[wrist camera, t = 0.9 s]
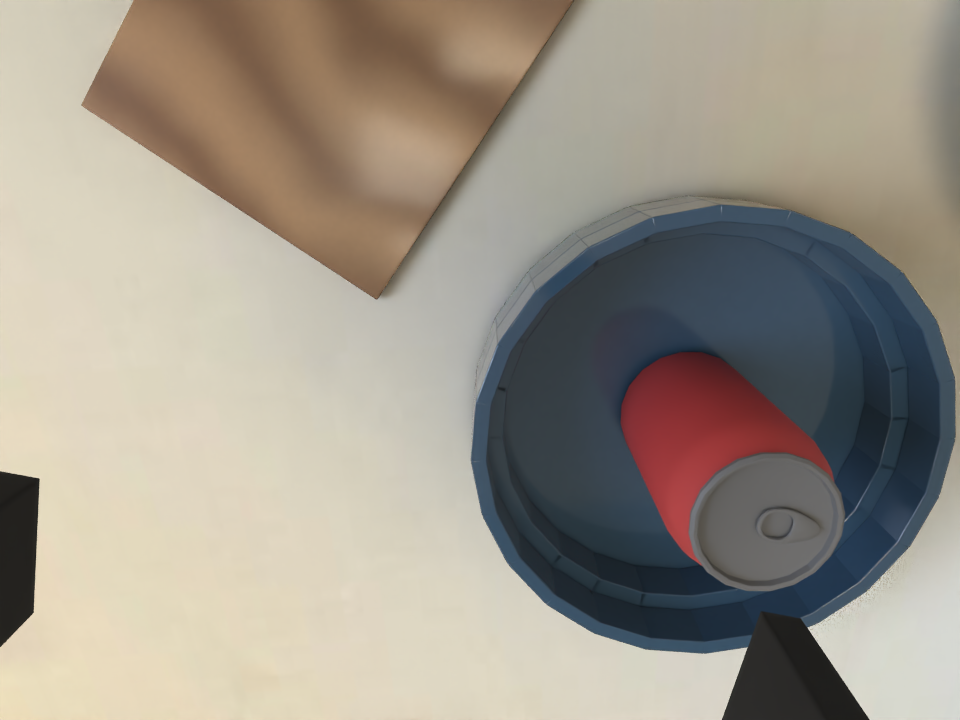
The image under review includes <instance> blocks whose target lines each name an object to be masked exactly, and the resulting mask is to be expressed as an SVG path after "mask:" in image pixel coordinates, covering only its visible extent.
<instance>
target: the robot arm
mask: <svg viewBox="0 0 960 720" xmlns="http://www.w3.org/2000/svg"><path fill="white" fill-rule="evenodd" d="M38 500H39V478H33V477H28V476H22V475H17V474H11V473H6V472H1V471H0V647H1V646H2V645H3V644H4V643H5V642H6V641H7V640H8V639H9V638H10V637H11V636H12V635H13V633H14V632H15V631H16V630H17V629H18V628H19V627H20V626H21V625H22V624H23V623H24V622H25V621H26V620H27V619H28V618H29V617H30V616H31V615H32V614H33V613H34V590H35V568H36V545H37V523H38ZM722 720H869V718H868V717H867V715H866V714H865V712H864V711H863V709H862V708H861V707H860V705H859V704H858V702H857V701H856V699H855V698H854V696H853V695H852V693H851V692H850V690H849V689H848V687H847V686H846V684H845V683H844V681H843V680H842V678H841V677H840V676H839V674H838V673H837V671H836V670H835V668H834V667H833V665H832V664H831V662H830V661H829V659H828V658H827V656H826V655H825V653H824V652H823V650H822V649H821V647H820V646H819V645H818V643H817V642H816V640H815V639H814V637H813V636H812V634H811V633H810V631H809V630H808V628H807V627H806V625H805V624H804V622H803V621H802V619H801V618H796V617H791V616H785V615H780V614H774V613H769V612H764V611H761V612H760V615H759V618H758V620H757V623H756V626H755V629H754V632H753V634H752V637H751V640H750V643H749V646H748V648H747V651H746V654H745V657H744V660H743V662H742V665H741V668H740V671H739V674H738V676H737V679H736V682H735V685H734V688H733V690H732V693H731V696H730V699H729V702H728V704H727V707H726V710H725V713H724V716H723V718H722Z"/></svg>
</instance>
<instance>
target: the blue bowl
mask: <svg viewBox="0 0 960 720" xmlns="http://www.w3.org/2000/svg"><path fill="white" fill-rule="evenodd" d="M679 352H702V353H705V354H708V355H711V356H714V357H717V358H721V359H722V360H723V361H725V362H726V363H727V364H729V365H730V366H731V367H733V368H734V369H735V370H736V371H738V372H739V373H740V374H741V375H742V376H743V377H744V378H745V379H746V380H747V381H749V382H750V383H751V384H752V385H753V386H754V387H755V388H756V389H757V390H758V391H760V392H761V393H762V394H763V395H764V396H765V397H766V398H767V399H768V400H769V401H771V402H772V403H773V404H774V405H775V406H776V407H777V408H778V409H779V410H781V411H782V412H783V413H784V414H785V415H786V416H787V417H788V418H789V419H790V420H792V421H793V422H794V423H795V424H796V425H797V426H798V427H799V428H800V429H801V430H803V431H804V432H805V433H806V434H807V435H808V436H809V437H810V438H811V439H812V440H814V441H815V443H816V445H817V446H818V448H819V449H820V451H821V452H822V454H823V455H824V457H825V459H826V460H827V462H828V464H829V466H830V468H831V470H832V473H833V478H834V483H835V484H836V486H837V488H838V489H839V491H840V492H841V496H842V501H843V505H844V510H845V519H844V525H843V531H842V536H841V538H840V540H839V542H838V544H837V546H836V548H835V550H834V552H833V553H832V555H831V557H830V558H829V559H828V560H827V561H826V562H825V563H824V564H823V565H822V566H821V567H820V568H819V569H818V570H817V571H816V572H815V573H813V574H812V575H810V576H808V577H807V578H805V579H803V580H801V581H800V582H798V583H796V584H794V585H791V586H788V587H784V588H780V589H776V590H773V591H745V590H742V589H738V588H735V587H732V586H728V585H725V584H723V583H722V582H721V581H719V580H718V579H716V578H715V577H713V576H712V575H710V574H709V573H707V571H706V570H705V569H704V567H703V566H702V565H700V564H699V563H697V562H696V561H694V560H693V559H691V558H690V557H689V556H688V555H687V554H686V553H684V552H683V551H682V550H681V548H680V547H679V546H678V544H677V543H676V541H675V540H674V539H673V537H672V536H671V535H670V533H669V532H668V530H667V528H666V526H665V524H664V522H663V520H662V518H661V515H660V513H659V511H658V509H657V507H656V505H655V503H654V501H653V498H652V496H651V494H650V492H649V490H648V488H647V486H646V484H645V481H644V479H643V477H642V475H641V473H640V471H639V469H638V467H637V464H636V462H635V460H634V458H633V456H632V454H631V452H630V450H629V447H628V445H627V443H626V441H625V437H624V434H623V430H622V427H621V406H622V402H623V400H624V397H625V395H626V392H627V390H628V387H629V385H630V384H631V383H632V382H633V381H634V379H635V378H636V377H637V376H638V375H639V373H640V372H641V371H642V370H643V369H644V368H646V367H648V366H649V365H651V364H652V363H654V362H655V361H657V360H658V359H660V358H663V357H666V356H669V355H673V354H676V353H679ZM954 442H955V377H954V374H953V371H952V367H951V364H950V361H949V358H948V355H947V351H946V348H945V345H944V342H943V339H942V335H941V332H940V329H939V326H938V323H937V320H936V319H935V318H934V316H933V315H932V313H931V312H930V310H929V309H928V308H927V306H926V305H925V303H924V302H923V300H922V299H921V298H920V296H919V295H918V293H917V292H916V290H915V289H914V288H913V286H912V285H911V283H910V282H909V280H908V279H907V278H906V276H905V275H904V273H903V272H901V270H899V269H898V268H897V267H896V266H894V265H893V264H892V263H890V262H889V261H888V260H886V259H885V258H884V257H882V256H881V255H880V254H878V253H877V252H876V251H875V250H873V249H872V248H871V247H869V246H868V245H867V244H865V243H864V242H863V241H861V240H860V239H859V238H858V237H856V236H855V235H854V234H851V233H850V232H848V231H845V230H843V229H840V228H837V227H835V226H832V225H829V224H827V223H824V222H821V221H819V220H816V219H813V218H811V217H808V216H805V215H802V214H800V213H797V212H794V211H792V210H788V209H783V208H779V207H775V206H770V205H766V204H761V203H757V202H752V201H747V200H739V199H726V198H714V197H701V196H682V197H677V198H671V199H666V200H661V201H655V202H650V203H644V204H639V205H634V206H629V207H626V208H624V209H622V210H620V211H618V212H616V213H614V214H612V215H610V216H607V217H605V218H603V219H601V220H599V221H597V222H595V223H593V224H590V225H588V226H586V227H584V228H582V229H580V230H578V231H576V232H575V233H573V234H571V235H570V236H569V237H568V238H567V239H565V240H564V241H563V242H562V243H561V244H559V245H558V246H557V247H556V248H555V249H553V250H552V251H551V252H550V253H549V254H547V255H546V256H545V257H544V258H543V259H541V260H540V261H539V262H538V263H537V264H535V265H534V266H533V267H532V268H531V269H530V270H529V271H528V272H527V273H526V275H525V276H524V278H523V279H522V280H521V282H520V283H519V285H518V286H517V287H516V289H515V290H514V292H513V293H512V295H511V296H510V297H509V299H508V300H507V302H506V303H505V304H504V306H503V307H502V309H501V310H500V311H499V313H498V314H497V316H496V318H495V320H494V322H493V325H492V328H491V331H490V333H489V336H488V339H487V341H486V344H485V347H484V350H483V352H482V355H481V358H480V360H479V363H478V366H477V370H476V383H475V395H474V408H473V422H472V445H471V464H472V469H473V474H474V479H475V484H476V488H477V493H478V498H479V503H480V508H481V513H482V515H483V518H484V520H485V522H486V524H487V526H488V528H489V530H490V531H491V533H492V535H493V537H494V539H495V541H496V543H497V545H498V547H499V548H500V550H501V552H502V554H503V556H504V558H505V560H506V562H507V563H508V564H509V566H510V567H511V568H512V569H513V570H514V571H515V572H516V573H517V574H518V575H519V576H520V577H521V579H522V580H523V581H524V582H525V583H526V584H527V585H528V586H529V587H530V588H531V589H532V590H533V591H534V592H535V593H536V594H537V595H538V596H539V597H540V598H541V599H542V600H543V602H544V603H546V604H547V605H548V606H550V607H551V608H553V609H554V610H556V611H558V612H559V613H561V614H563V615H564V616H566V617H568V618H569V619H571V620H573V621H574V622H576V623H577V624H579V625H581V626H582V627H584V628H586V629H587V630H589V631H591V632H593V633H594V634H598V635H601V636H604V637H607V638H610V639H614V640H617V641H620V642H623V643H627V644H630V645H633V646H636V647H639V648H643V649H648V650H660V651H674V652H688V653H702V654H703V653H704V654H706V653H713V652H719V651H726V650H732V649H739V648H746V647H748V646H749V643H750V640H751V637H752V634H753V632H754V629H755V626H756V623H757V620H758V618H759V615H760V612H761V611H764V612H769V613H774V614H780V615H785V616H791V617H796V618H801V619H802V621H803V622H804V624H805V625H806V627H810V626H813V625H815V624H817V623H819V622H821V621H822V620H824V619H825V618H827V617H828V616H830V615H832V614H833V613H835V612H836V611H838V610H839V609H841V608H842V607H844V606H845V605H847V604H848V603H850V602H851V601H853V600H854V599H856V598H857V597H859V596H860V595H862V594H864V593H865V592H867V590H868V589H870V588H871V586H872V585H873V584H874V583H875V582H876V581H877V580H878V579H879V578H880V577H881V576H882V575H883V574H884V573H885V572H886V571H887V570H888V569H889V568H890V567H891V566H892V565H893V564H894V563H895V562H896V561H897V559H898V558H899V557H900V556H901V555H902V554H903V553H904V552H905V551H906V550H907V549H908V547H910V546H911V544H912V542H913V540H914V539H915V537H916V535H917V534H918V532H919V530H920V528H921V527H922V525H923V523H924V522H925V520H926V518H927V516H928V515H929V513H930V511H931V510H932V508H933V506H934V505H935V503H936V501H937V499H938V498H939V495H940V492H941V488H942V485H943V481H944V478H945V474H946V471H947V467H948V463H949V460H950V456H951V453H952V449H953V446H954Z"/></svg>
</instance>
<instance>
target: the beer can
mask: <svg viewBox="0 0 960 720" xmlns="http://www.w3.org/2000/svg"><path fill="white" fill-rule="evenodd" d="M621 427H622V430H623V434H624V437H625V441H626V443H627V445H628V447H629V450H630V452H631V454H632V456H633V458H634V460H635V462H636V464H637V467H638V469H639V471H640V473H641V475H642V477H643V479H644V481H645V484H646V486H647V488H648V490H649V492H650V494H651V496H652V498H653V501H654V503H655V505H656V507H657V509H658V511H659V513H660V515H661V518H662V520H663V522H664V524H665V526H666V528H667V530H668V532H669V533H670V535H671V536H672V537H673V539H674V540H675V541H676V543H677V544H678V546H679V547H680V548H681V550H682V551H683V552H684V553H686V554H687V555H688V556H689V557H690V558H691V559H693V560H694V561H696V562H697V563H699V564H700V565H702V566H703V567H704V569H705V570H706V571H707V573H709V574H710V575H712V576H713V577H715V578H716V579H718V580H719V581H721V582H722V583H723V584H725V585H728V586H732V587H735V588H738V589H742V590H745V591H773V590H776V589H780V588H784V587H788V586H791V585H794V584H796V583H798V582H800V581H801V580H803V579H805V578H807V577H808V576H810V575H812V574H813V573H815V572H816V571H817V570H818V569H819V568H820V567H821V566H822V565H823V564H824V563H825V562H826V561H827V560H828V559H829V558H830V557H831V555H832V553H833V552H834V550H835V548H836V546H837V544H838V542H839V540H840V538H841V536H842V531H843V525H844V519H845V510H844V505H843V501H842V496H841V492H840V491H839V489H838V488H837V486H836V484H835V483H834V478H833V473H832V470H831V468H830V466H829V464H828V462H827V460H826V459H825V457H824V455H823V454H822V452H821V451H820V449H819V448H818V446H817V445H816V443H815V441H814V440H812V439H811V438H810V437H809V436H808V435H807V434H806V433H805V432H804V431H803V430H801V429H800V428H799V427H798V426H797V425H796V424H795V423H794V422H793V421H792V420H790V419H789V418H788V417H787V416H786V415H785V414H784V413H783V412H782V411H781V410H779V409H778V408H777V407H776V406H775V405H774V404H773V403H772V402H771V401H769V400H768V399H767V398H766V397H765V396H764V395H763V394H762V393H761V392H760V391H758V390H757V389H756V388H755V387H754V386H753V385H752V384H751V383H750V382H749V381H747V380H746V379H745V378H744V377H743V376H742V375H741V374H740V373H739V372H738V371H736V370H735V369H734V368H733V367H731V366H730V365H729V364H727V363H726V362H725V361H723V360H722V359H721V358H717V357H714V356H711V355H708V354H705V353H702V352H679V353H676V354H673V355H669V356H666V357H663V358H660V359H658V360H657V361H655V362H654V363H652V364H651V365H649V366H648V367H646V368H644V369H643V370H642V371H641V372H640V373H639V375H638V376H637V377H636V378H635V379H634V381H633V382H632V383H631V384H630V385H629V387H628V390H627V392H626V395H625V397H624V400H623V402H622V406H621Z"/></svg>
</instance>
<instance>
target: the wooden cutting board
mask: <svg viewBox="0 0 960 720" xmlns="http://www.w3.org/2000/svg"><path fill="white" fill-rule="evenodd" d="M573 1H574V0H134V1H133V3H132V5H131V7H130V9H129V11H128V13H127V15H126V17H125V19H124V21H123V23H122V25H121V27H120V29H119V31H118V33H117V35H116V37H115V39H114V41H113V43H112V45H111V47H110V49H109V51H108V53H107V55H106V57H105V59H104V61H103V63H102V65H101V67H100V69H99V71H98V73H97V75H96V77H95V79H94V81H93V83H92V85H91V87H90V89H89V91H88V93H87V95H86V97H85V99H84V101H83V103H82V106H83V107H84V108H86V109H87V110H89V111H90V112H92V113H94V114H95V115H97V116H98V117H100V118H101V119H103V120H104V121H106V122H107V123H109V124H110V125H112V126H113V127H115V128H116V129H118V130H119V131H121V132H122V133H124V134H125V135H127V136H128V137H130V138H132V139H133V140H135V141H136V142H138V143H139V144H141V145H142V146H144V147H145V148H147V149H148V150H150V151H151V152H153V153H154V154H156V155H157V156H159V157H160V158H162V159H163V160H165V161H166V162H168V163H170V164H171V165H173V166H174V167H176V168H177V169H179V170H180V171H182V172H183V173H185V174H186V175H188V176H189V177H191V178H192V179H194V180H195V181H197V182H198V183H200V184H201V185H203V186H205V187H206V188H208V189H209V190H211V191H212V192H214V193H215V194H217V195H218V196H220V197H221V198H223V199H224V200H226V201H227V202H229V203H230V204H232V205H233V206H235V207H236V208H238V209H239V210H241V211H243V212H244V213H246V214H247V215H249V216H250V217H252V218H253V219H255V220H256V221H258V222H259V223H261V224H262V225H264V226H265V227H267V228H268V229H270V230H271V231H273V232H274V233H276V234H278V235H279V236H281V237H282V238H284V239H285V240H287V241H288V242H290V243H291V244H293V245H294V246H296V247H297V248H299V249H300V250H302V251H303V252H305V253H306V254H308V255H309V256H311V257H312V258H314V259H316V260H317V261H319V262H320V263H322V264H323V265H325V266H326V267H328V268H329V269H331V270H332V271H334V272H335V273H337V274H338V275H340V276H341V277H343V278H344V279H346V280H347V281H349V282H351V283H352V284H354V285H355V286H357V287H358V288H360V289H361V290H363V291H364V292H366V293H367V294H369V295H370V296H372V297H373V298H375V299H378V298H379V296H380V294H381V293H382V291H383V290H384V288H385V287H386V285H387V284H388V282H389V281H390V279H391V278H392V276H393V275H394V273H395V272H396V270H397V269H398V267H399V266H400V264H401V263H402V261H403V260H404V258H405V257H406V255H407V253H408V252H409V250H410V249H411V247H412V246H413V244H414V243H415V241H416V240H417V238H418V237H419V235H420V234H421V232H422V231H423V229H424V228H425V226H426V225H427V223H428V222H429V220H430V219H431V217H432V215H433V214H434V212H435V211H436V209H437V208H438V206H439V205H440V203H441V202H442V200H443V199H444V197H445V196H446V194H447V193H448V191H449V190H450V188H451V187H452V185H453V184H454V182H455V181H456V179H457V178H458V176H459V174H460V173H461V171H462V170H463V168H464V167H465V165H466V164H467V162H468V161H469V159H470V158H471V156H472V155H473V153H474V152H475V150H476V149H477V147H478V146H479V144H480V143H481V141H482V140H483V138H484V137H485V135H486V133H487V132H488V130H489V129H490V127H491V126H492V124H493V123H494V121H495V120H496V118H497V117H498V115H499V114H500V112H501V111H502V109H503V108H504V106H505V105H506V103H507V102H508V100H509V99H510V97H511V95H512V94H513V92H514V91H515V89H516V88H517V86H518V85H519V83H520V82H521V80H522V79H523V77H524V76H525V74H526V73H527V71H528V70H529V68H530V67H531V65H532V64H533V62H534V61H535V59H536V58H537V56H538V54H539V53H540V51H541V50H542V48H543V47H544V45H545V44H546V42H547V41H548V39H549V38H550V36H551V35H552V33H553V32H554V30H555V29H556V27H557V26H558V24H559V23H560V21H561V20H562V18H563V16H564V15H565V13H566V12H567V10H568V9H569V7H570V6H571V4H572V3H573Z"/></svg>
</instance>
